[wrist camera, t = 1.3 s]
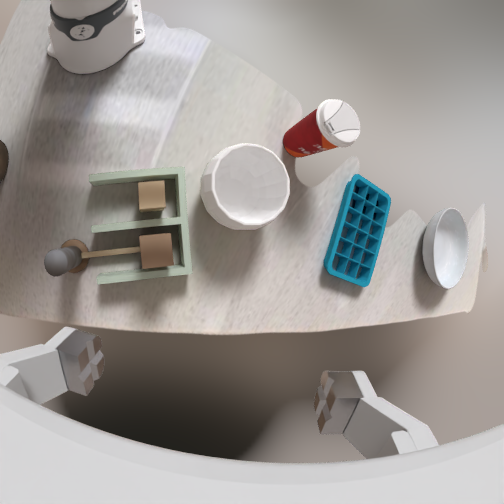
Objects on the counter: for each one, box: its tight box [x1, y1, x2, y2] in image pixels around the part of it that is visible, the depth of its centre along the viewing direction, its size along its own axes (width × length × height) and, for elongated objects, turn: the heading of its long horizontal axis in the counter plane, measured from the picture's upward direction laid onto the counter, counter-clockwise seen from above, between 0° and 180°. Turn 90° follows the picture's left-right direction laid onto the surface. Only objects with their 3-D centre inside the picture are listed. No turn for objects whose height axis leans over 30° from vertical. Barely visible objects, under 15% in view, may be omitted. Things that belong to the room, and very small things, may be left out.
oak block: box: [138, 181, 166, 213], centre depth 39 cm, size 4×4×7 cm
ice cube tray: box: [324, 174, 391, 287], centre depth 55 cm, size 12×20×3 cm, turn 160°
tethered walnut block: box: [44, 233, 174, 276], centre depth 36 cm, size 5×18×10 cm, turn 94°
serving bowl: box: [423, 208, 469, 289], centre depth 64 cm, size 21×21×7 cm
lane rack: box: [89, 167, 192, 284], centre depth 40 cm, size 15×14×4 cm
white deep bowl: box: [200, 143, 290, 230], centre depth 42 cm, size 12×12×10 cm
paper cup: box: [283, 99, 360, 157], centre depth 44 cm, size 8×8×14 cm
